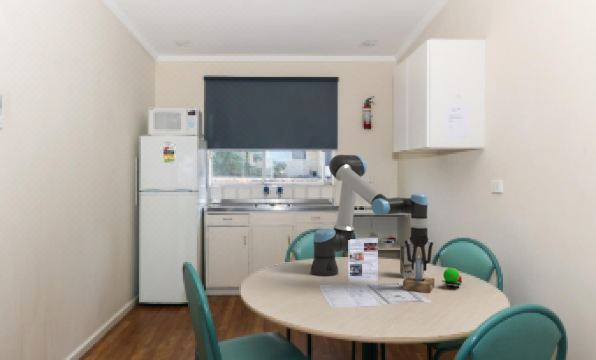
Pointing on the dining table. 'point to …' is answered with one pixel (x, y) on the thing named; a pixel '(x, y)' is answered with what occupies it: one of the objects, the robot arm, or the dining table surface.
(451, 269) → the toy
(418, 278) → the needle dowel
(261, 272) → the dining table surface
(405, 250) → the coffee box
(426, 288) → the bead block
